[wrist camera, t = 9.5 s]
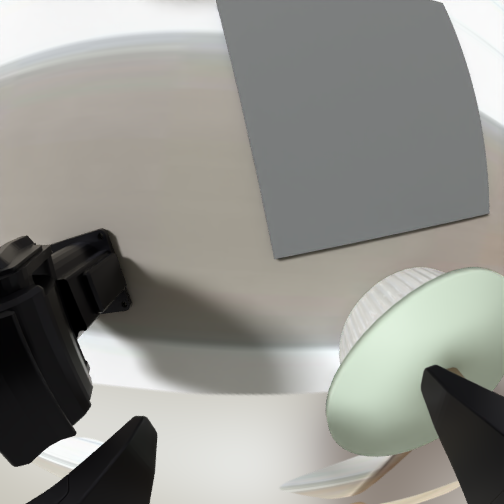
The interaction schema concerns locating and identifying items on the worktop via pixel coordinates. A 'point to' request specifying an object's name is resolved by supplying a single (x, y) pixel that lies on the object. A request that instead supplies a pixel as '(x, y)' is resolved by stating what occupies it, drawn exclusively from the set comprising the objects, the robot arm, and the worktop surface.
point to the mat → (356, 118)
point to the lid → (417, 361)
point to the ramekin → (381, 303)
